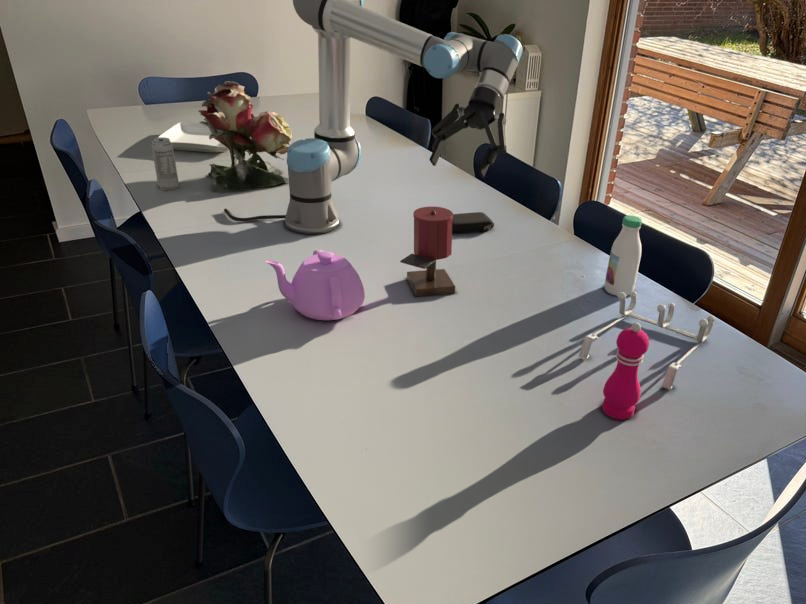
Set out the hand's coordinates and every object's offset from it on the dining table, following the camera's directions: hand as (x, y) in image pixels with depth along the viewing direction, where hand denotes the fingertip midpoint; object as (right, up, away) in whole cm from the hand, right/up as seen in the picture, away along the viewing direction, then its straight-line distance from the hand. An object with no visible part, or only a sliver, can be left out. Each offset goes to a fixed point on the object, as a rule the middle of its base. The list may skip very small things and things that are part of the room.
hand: (456, 168), depth 176 cm
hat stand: (-7, -28, +7) cm, 30 cm away
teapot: (-32, -35, -7) cm, 48 cm away
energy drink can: (-92, +7, +51) cm, 106 cm away
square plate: (-96, +33, +90) cm, 136 cm away
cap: (-7, -21, 0) cm, 22 cm away
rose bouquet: (-72, +14, +64) cm, 97 cm away
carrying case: (+2, -7, +41) cm, 41 cm away
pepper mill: (+33, -57, -33) cm, 74 cm away
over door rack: (+44, -44, -12) cm, 64 cm away
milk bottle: (+42, -29, +12) cm, 53 cm away
